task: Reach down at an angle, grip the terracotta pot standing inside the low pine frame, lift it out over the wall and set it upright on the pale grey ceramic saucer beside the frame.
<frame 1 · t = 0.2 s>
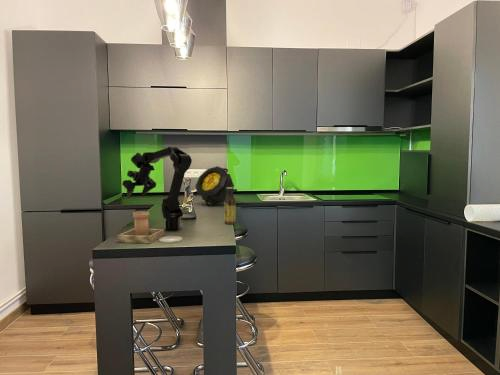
hand: (135, 196, 198), 15 cm above the worktop, tool tilted 30°, fingers open, 9 cm apart
terracotta pot: (141, 225, 161), in the pine frame
sauce bottle: (230, 223, 197), on the worktop
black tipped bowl: (216, 205, 271), on the worktop
pine frame: (141, 238, 161), on the worktop
ceramic saucer: (170, 240, 158), on the worktop
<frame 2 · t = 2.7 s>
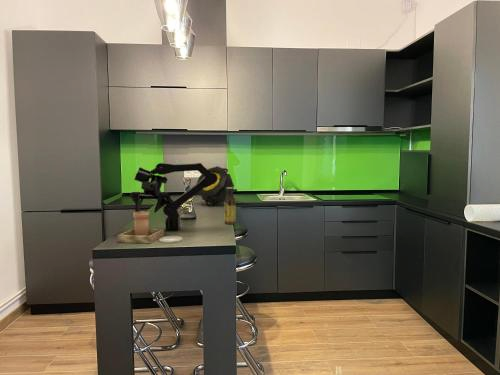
hand: (145, 211, 165), 11 cm above the worktop, tool tilted 45°, fingers open, 9 cm apart
nothing on the worktop moved.
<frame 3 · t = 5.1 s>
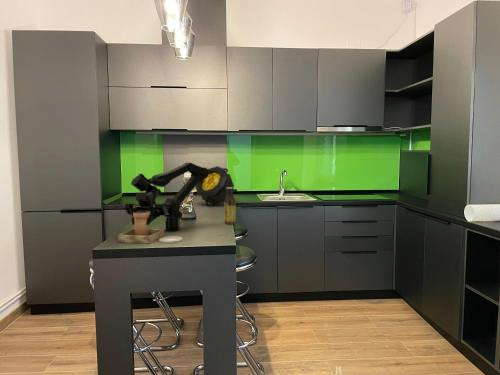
hand: (139, 224, 159), 7 cm above the worktop, tool tilted 45°, fingers closed on terracotta pot, 6 cm apart
terracotta pot: (141, 225, 161), in the pine frame, touching gripper
everything else where it was.
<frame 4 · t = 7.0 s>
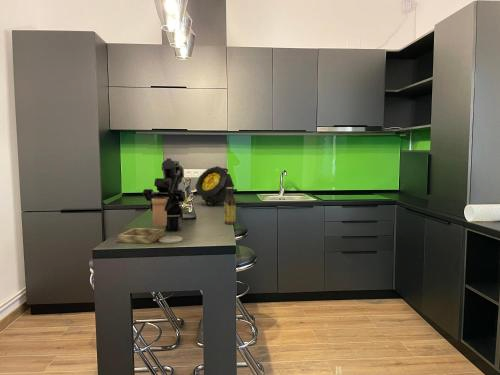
hand: (158, 210, 157), 14 cm above the worktop, tool tilted 45°, fingers closed on terracotta pot, 6 cm apart
terracotta pot: (159, 211, 158), point 13 cm above the worktop, touching gripper
everything else where it was.
when the fingers open (9 cm above the worktop, at t = 9.3 s): terracotta pot drops 1 cm, resting on ceramic saucer.
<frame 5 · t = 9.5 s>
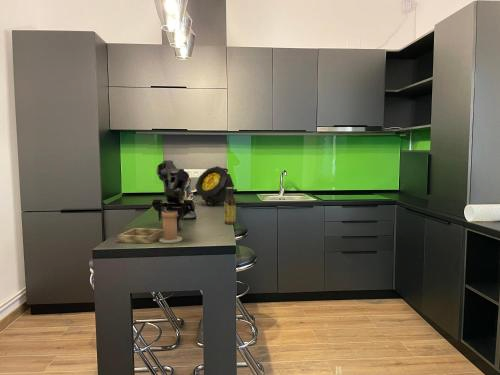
hand: (168, 220, 156), 9 cm above the worktop, tool tilted 45°, fingers open, 8 cm apart
terracotta pot: (170, 224, 158), on the ceramic saucer, point 7 cm above the worktop
everything else where it was.
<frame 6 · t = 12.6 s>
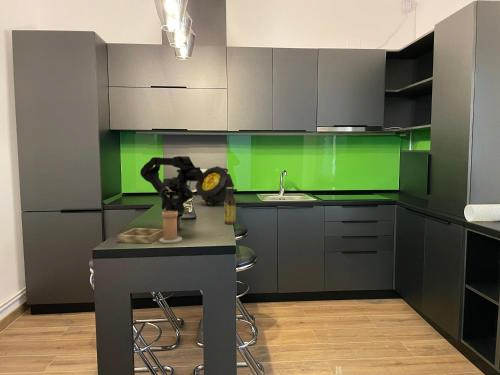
hand: (168, 208, 166), 13 cm above the worktop, tool tilted 35°, fingers open, 9 cm apart
nothing on the worktop moved.
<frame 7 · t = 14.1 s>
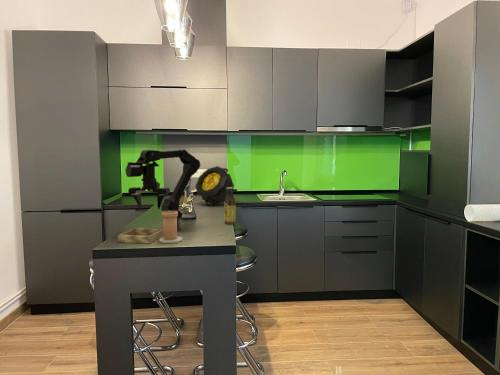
hand: (149, 208, 171), 12 cm above the worktop, tool pointing down, fingers open, 9 cm apart
nothing on the worktop moved.
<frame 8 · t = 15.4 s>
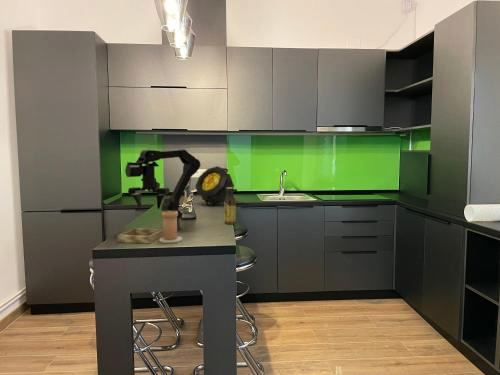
hand: (149, 208, 171), 12 cm above the worktop, tool pointing down, fingers open, 9 cm apart
nothing on the worktop moved.
at the end: terracotta pot 0.1 cm off-centre on the ceramic saucer, point 6.9 cm above the ceramic saucer's base; terracotta pot tilted 0°; the gripper is holding nothing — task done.
